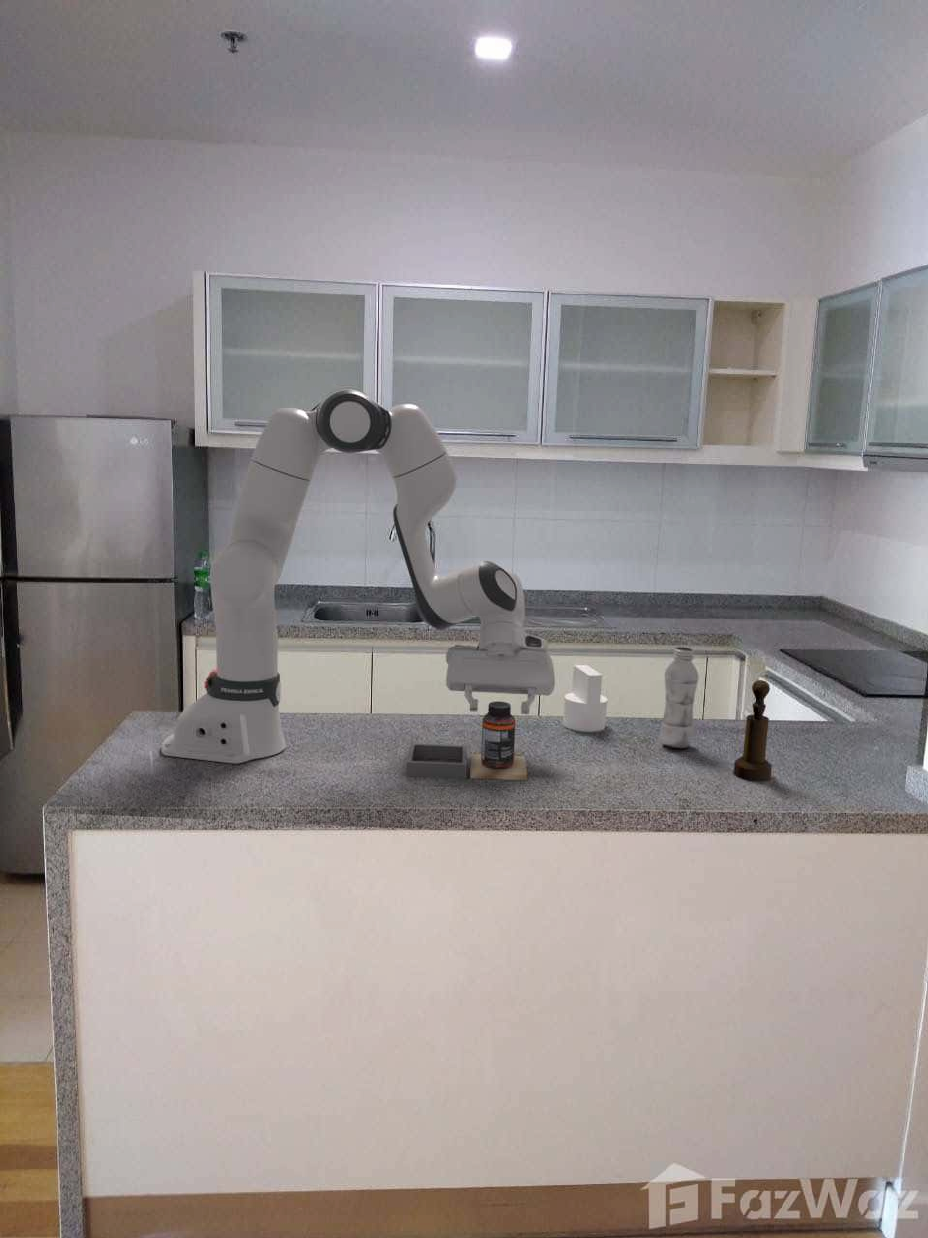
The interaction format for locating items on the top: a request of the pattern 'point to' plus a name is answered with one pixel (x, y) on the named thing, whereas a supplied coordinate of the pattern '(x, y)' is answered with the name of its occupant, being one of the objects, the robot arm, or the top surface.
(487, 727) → the supplement bottle
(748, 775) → the brown wooden upright piece
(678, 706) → the plastic bottle
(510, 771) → the coaster
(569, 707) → the base with upright slab
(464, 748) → the holder
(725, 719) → the top surface
